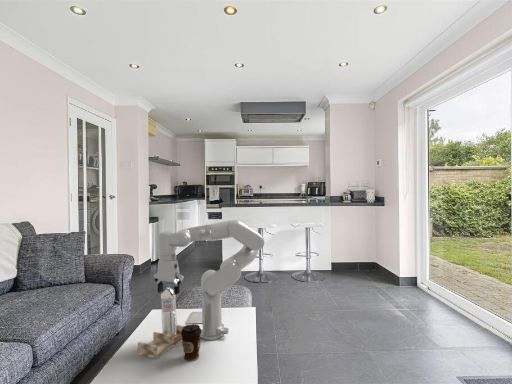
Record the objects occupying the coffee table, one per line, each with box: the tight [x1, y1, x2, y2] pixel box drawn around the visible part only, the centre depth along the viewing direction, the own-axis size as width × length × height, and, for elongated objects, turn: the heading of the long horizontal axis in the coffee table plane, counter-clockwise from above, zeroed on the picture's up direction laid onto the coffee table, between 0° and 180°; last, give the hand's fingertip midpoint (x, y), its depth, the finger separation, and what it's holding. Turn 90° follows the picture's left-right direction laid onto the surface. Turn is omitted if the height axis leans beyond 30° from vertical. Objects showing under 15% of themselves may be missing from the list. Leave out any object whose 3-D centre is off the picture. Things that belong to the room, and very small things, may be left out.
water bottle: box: [160, 284, 178, 339], centre depth 139 cm, size 7×7×25 cm
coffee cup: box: [181, 323, 202, 362], centre depth 124 cm, size 9×8×13 cm
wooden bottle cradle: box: [137, 324, 185, 360], centre depth 134 cm, size 11×20×5 cm, turn 158°
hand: (168, 292), depth 139 cm, fingers open, 9 cm apart
